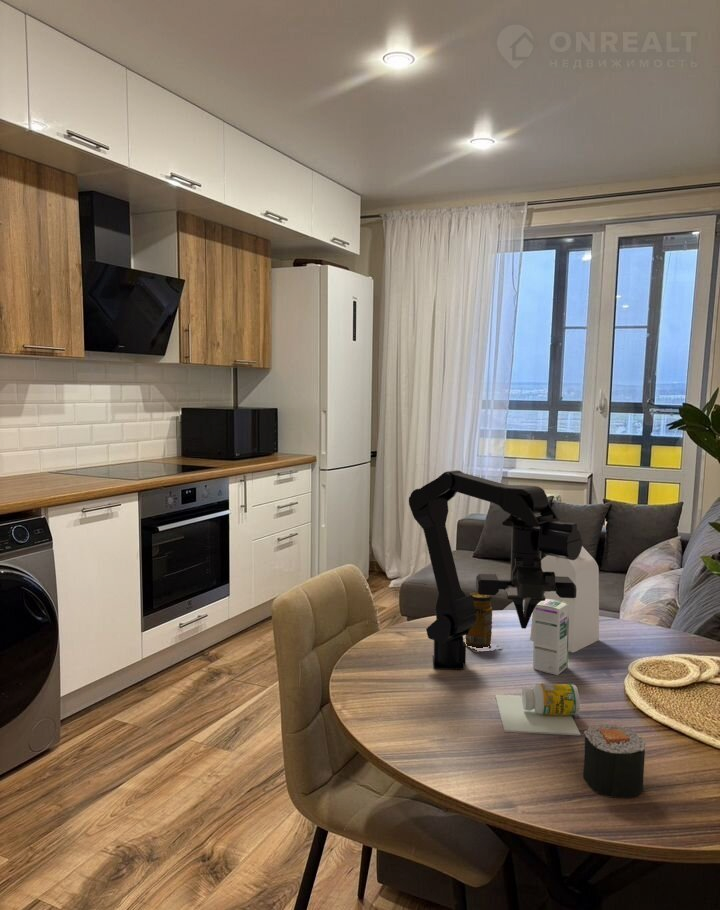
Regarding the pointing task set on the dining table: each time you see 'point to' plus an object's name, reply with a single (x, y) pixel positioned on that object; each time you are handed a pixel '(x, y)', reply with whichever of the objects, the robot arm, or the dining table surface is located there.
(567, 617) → the syrup box
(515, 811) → the dining table surface
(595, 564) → the milk
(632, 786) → the sushi
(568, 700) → the supplement bottle
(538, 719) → the mat
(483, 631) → the condiment
